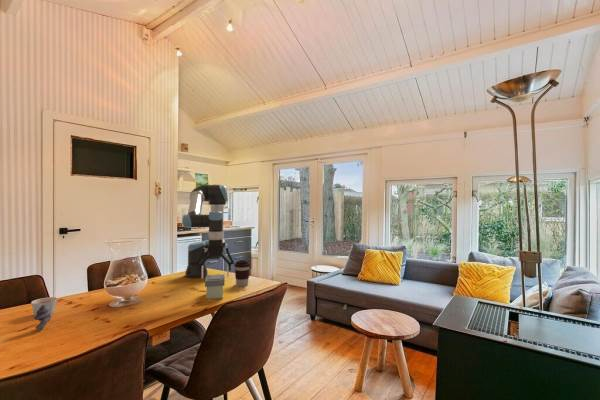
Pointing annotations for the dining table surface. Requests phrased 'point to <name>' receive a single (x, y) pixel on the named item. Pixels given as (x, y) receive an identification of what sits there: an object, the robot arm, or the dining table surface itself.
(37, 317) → the seashell
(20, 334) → the dining table surface
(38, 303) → the grey bowl
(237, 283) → the coffee cup
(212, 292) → the box
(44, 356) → the dining table surface
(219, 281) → the lid
